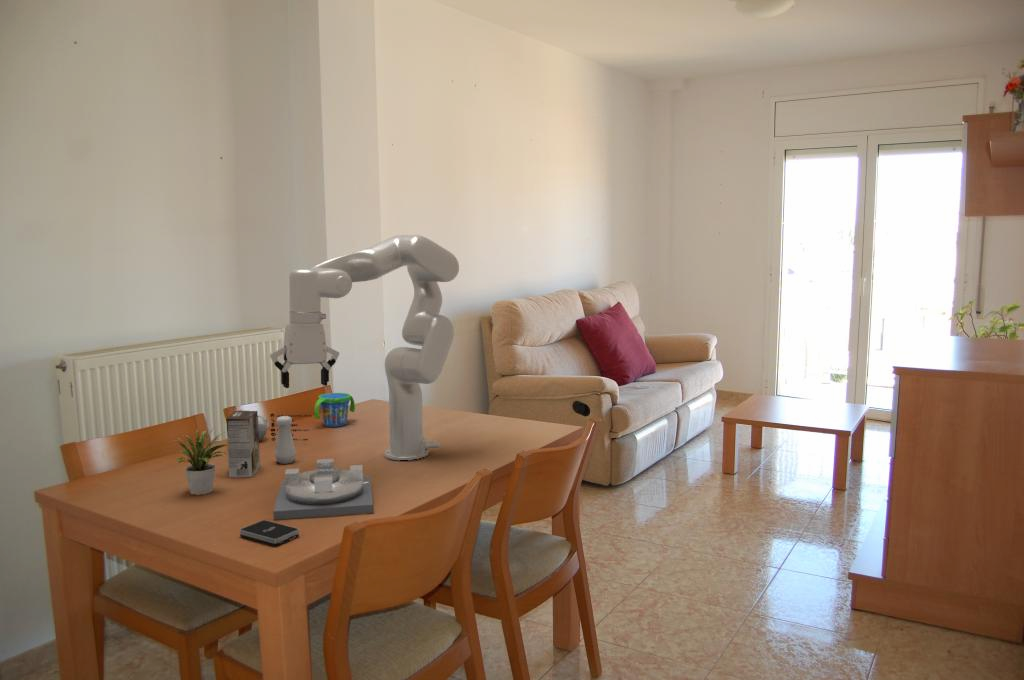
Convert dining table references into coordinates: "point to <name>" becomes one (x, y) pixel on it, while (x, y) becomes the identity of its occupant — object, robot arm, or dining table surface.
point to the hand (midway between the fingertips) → (305, 386)
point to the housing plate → (323, 505)
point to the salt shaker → (284, 441)
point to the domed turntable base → (324, 484)
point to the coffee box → (243, 443)
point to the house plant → (200, 463)
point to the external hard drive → (269, 533)
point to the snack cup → (334, 408)
